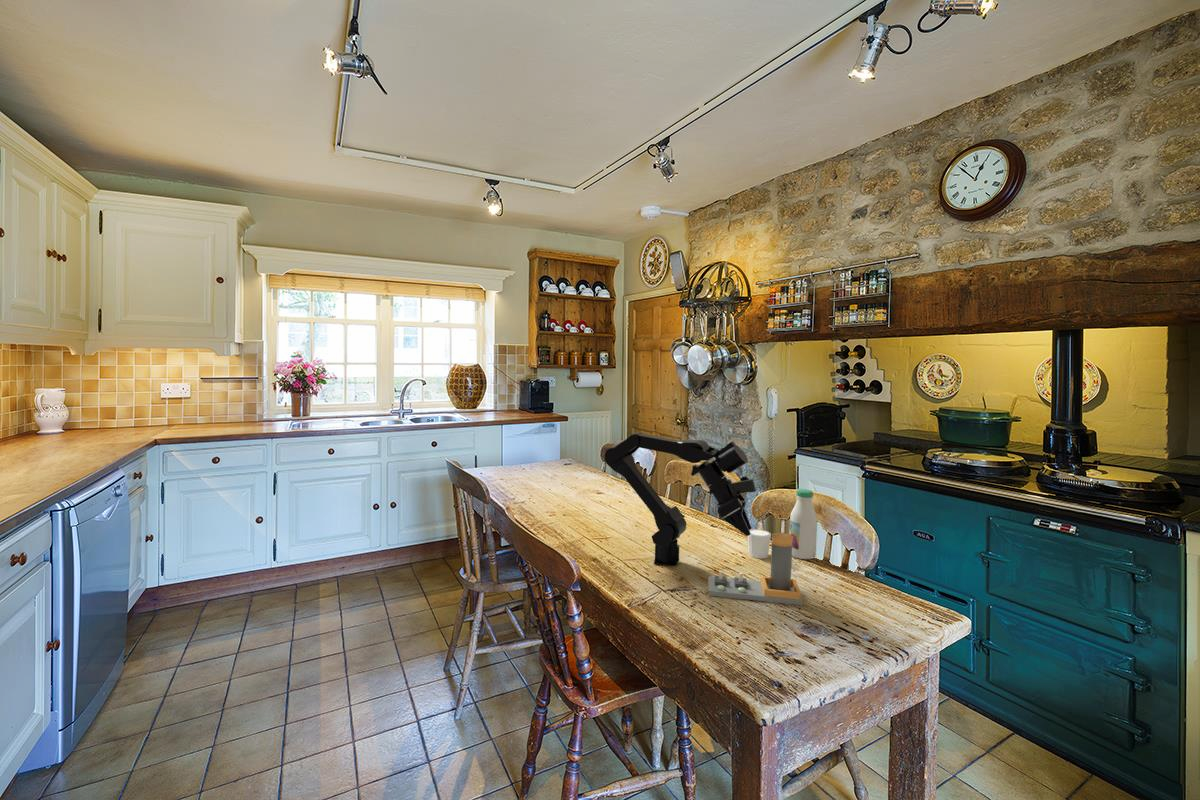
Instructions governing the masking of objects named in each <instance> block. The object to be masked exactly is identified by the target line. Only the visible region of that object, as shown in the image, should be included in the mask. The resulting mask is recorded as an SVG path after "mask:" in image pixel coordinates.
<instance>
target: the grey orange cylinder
mask: <svg viewBox="0 0 1200 800" xmlns="http://www.w3.org/2000/svg"><path fill="white" fill-rule="evenodd" d="M792 542H793V536H792V535H790V534H789V533H786V532H774V533H771V552H770V553H771V555H770V556H771V557H770V576H769V577H770V589H774V590H784V591H790V585H791V579H792V559H793V556H792Z"/></svg>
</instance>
